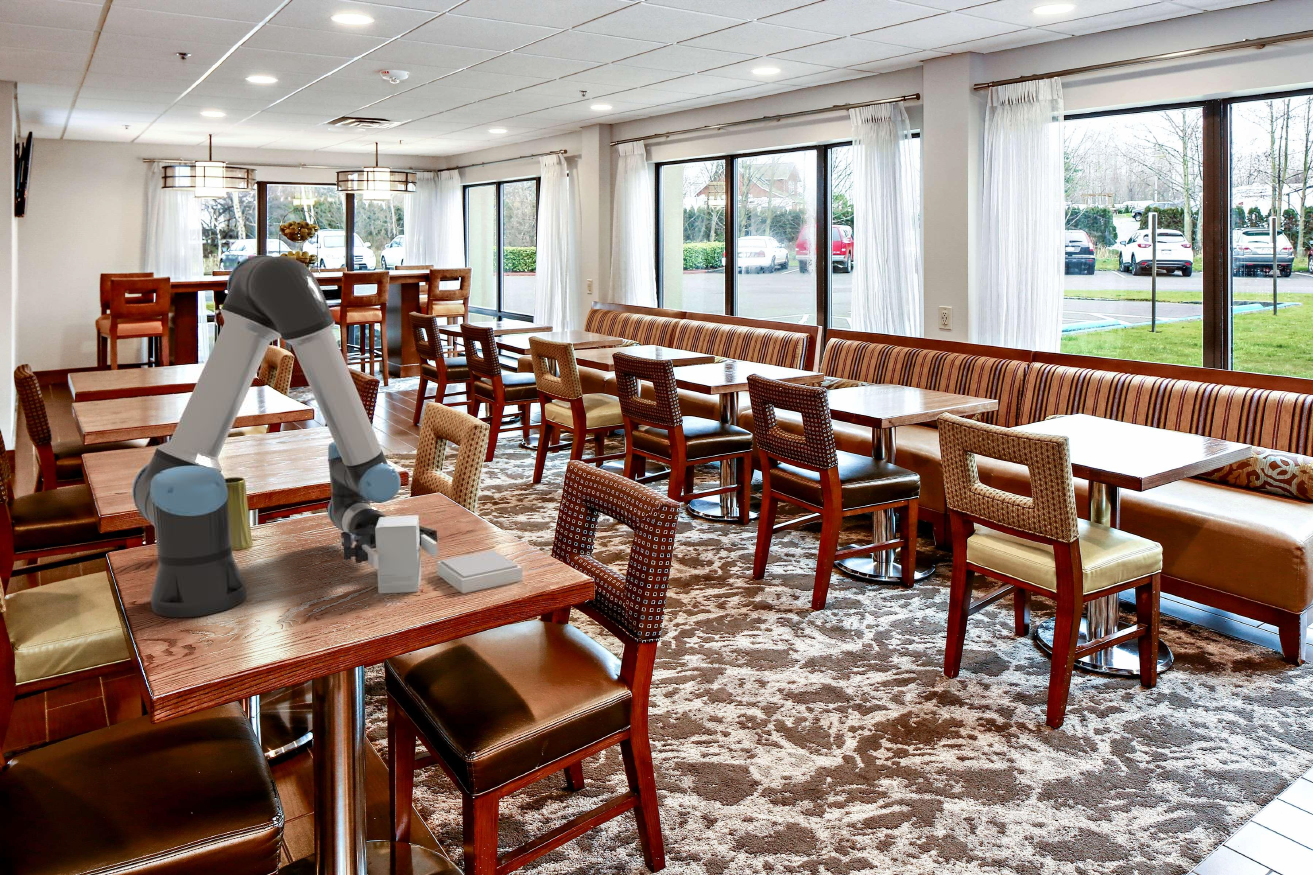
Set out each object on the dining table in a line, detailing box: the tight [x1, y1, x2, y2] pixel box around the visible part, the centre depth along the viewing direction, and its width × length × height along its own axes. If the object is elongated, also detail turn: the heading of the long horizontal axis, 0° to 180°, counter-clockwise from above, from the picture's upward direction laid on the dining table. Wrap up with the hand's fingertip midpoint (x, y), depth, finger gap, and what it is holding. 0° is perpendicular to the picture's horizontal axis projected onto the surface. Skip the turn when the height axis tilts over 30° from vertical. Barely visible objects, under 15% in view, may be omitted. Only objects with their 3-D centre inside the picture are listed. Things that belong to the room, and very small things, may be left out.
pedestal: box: [436, 549, 523, 594], centre depth 179 cm, size 12×12×3 cm
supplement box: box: [375, 514, 422, 594], centre depth 174 cm, size 7×7×13 cm
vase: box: [224, 476, 254, 551], centre depth 196 cm, size 6×6×14 cm
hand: (406, 555), depth 170 cm, fingers open, 10 cm apart
